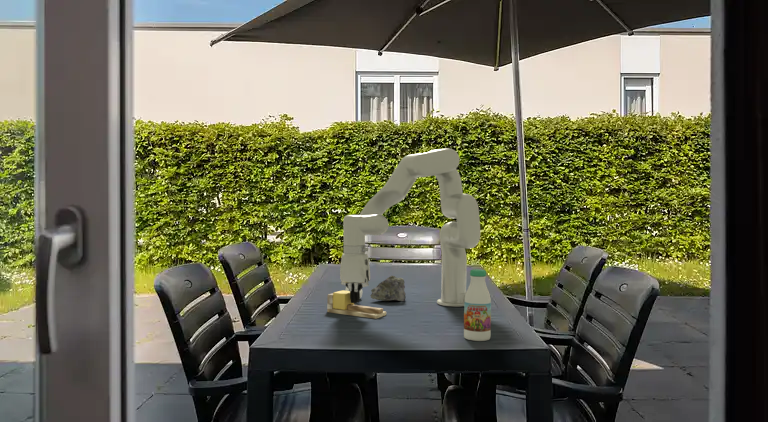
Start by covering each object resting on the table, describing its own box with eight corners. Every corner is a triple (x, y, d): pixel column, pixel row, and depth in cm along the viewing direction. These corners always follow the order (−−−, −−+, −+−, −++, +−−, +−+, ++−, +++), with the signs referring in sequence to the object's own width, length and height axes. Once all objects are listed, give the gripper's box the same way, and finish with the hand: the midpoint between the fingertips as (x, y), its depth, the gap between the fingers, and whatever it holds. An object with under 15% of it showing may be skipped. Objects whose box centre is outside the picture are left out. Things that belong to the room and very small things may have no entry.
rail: (386, 315, 194) (386, 297, 194) (376, 318, 188) (376, 300, 187) (338, 308, 204) (338, 291, 203) (327, 312, 198) (327, 294, 197)
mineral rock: (369, 302, 217) (369, 276, 217) (376, 297, 227) (376, 272, 227) (401, 304, 214) (402, 278, 214) (407, 299, 224) (408, 274, 224)
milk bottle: (461, 335, 167) (462, 268, 166) (486, 334, 167) (487, 268, 167) (467, 341, 159) (468, 271, 159) (493, 341, 160) (494, 271, 159)
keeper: (353, 306, 200) (354, 291, 200) (344, 309, 194) (344, 294, 194) (342, 305, 202) (342, 290, 202) (332, 308, 197) (332, 292, 197)
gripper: (378, 250, 195) (378, 302, 196) (342, 248, 202) (342, 298, 203) (367, 252, 188) (368, 306, 189) (330, 250, 195) (331, 302, 196)
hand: (355, 302), depth 196 cm, fingers closed
